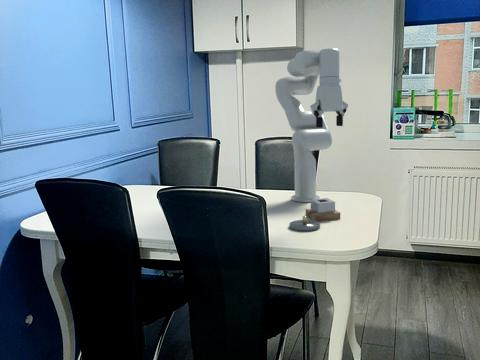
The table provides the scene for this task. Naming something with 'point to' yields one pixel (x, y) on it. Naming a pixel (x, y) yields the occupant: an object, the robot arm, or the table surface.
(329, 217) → the stand
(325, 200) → the square hollow frame
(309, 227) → the hub
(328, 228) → the table surface
